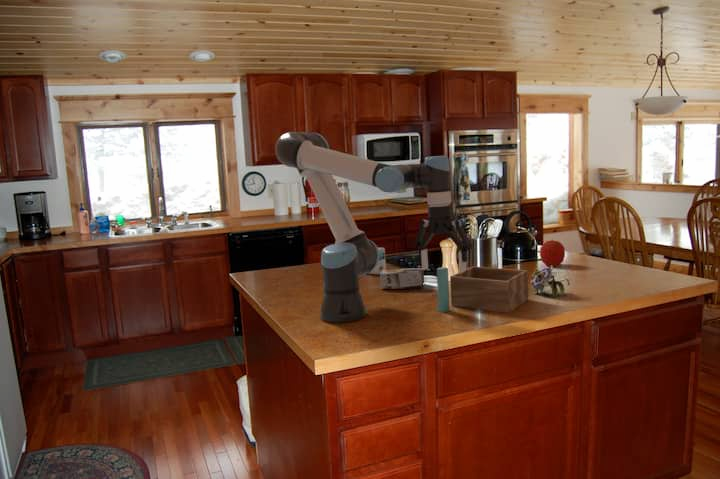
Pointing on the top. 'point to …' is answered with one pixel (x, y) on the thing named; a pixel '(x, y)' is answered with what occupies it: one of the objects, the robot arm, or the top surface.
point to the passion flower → (546, 281)
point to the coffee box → (402, 278)
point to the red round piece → (552, 253)
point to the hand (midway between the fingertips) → (443, 270)
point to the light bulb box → (380, 262)
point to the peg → (443, 289)
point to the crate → (489, 288)
